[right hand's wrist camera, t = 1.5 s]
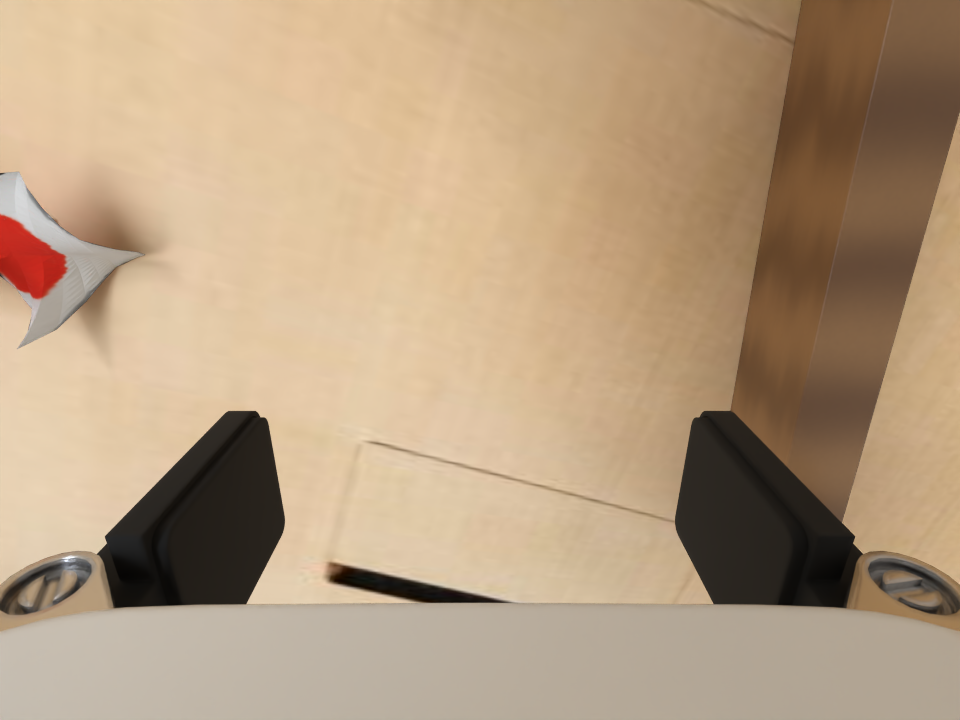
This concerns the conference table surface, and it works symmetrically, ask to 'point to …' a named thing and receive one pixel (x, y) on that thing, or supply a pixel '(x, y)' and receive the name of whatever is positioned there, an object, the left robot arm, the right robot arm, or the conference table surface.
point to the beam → (845, 226)
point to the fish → (48, 259)
